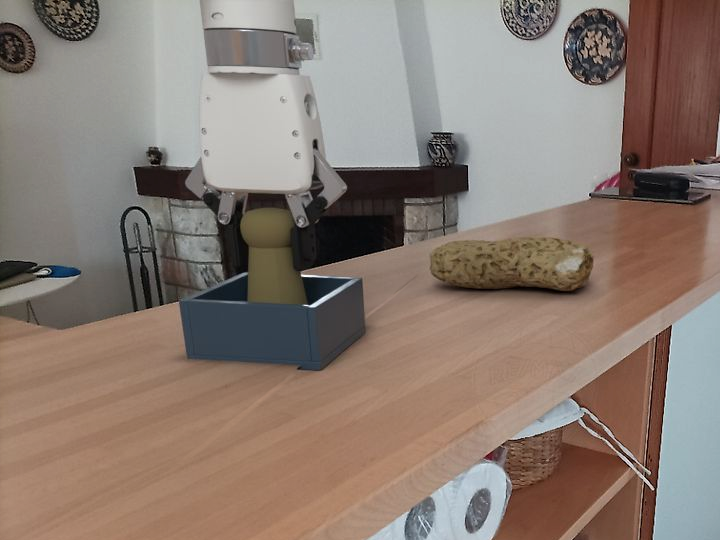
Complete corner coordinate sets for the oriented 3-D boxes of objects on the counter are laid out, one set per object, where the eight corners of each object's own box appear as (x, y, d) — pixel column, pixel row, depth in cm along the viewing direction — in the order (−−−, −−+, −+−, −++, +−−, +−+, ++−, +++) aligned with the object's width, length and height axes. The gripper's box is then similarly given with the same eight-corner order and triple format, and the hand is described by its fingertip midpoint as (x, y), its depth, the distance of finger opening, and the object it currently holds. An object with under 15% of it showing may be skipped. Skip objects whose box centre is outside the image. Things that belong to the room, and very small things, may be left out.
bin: (187, 362, 71) (178, 300, 69) (250, 326, 83) (244, 272, 81) (320, 370, 70) (315, 307, 68) (365, 332, 81) (362, 277, 79)
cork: (254, 317, 78) (242, 204, 74) (316, 316, 79) (307, 205, 75) (239, 333, 72) (225, 212, 68) (306, 333, 73) (296, 213, 69)
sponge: (590, 291, 107) (456, 251, 110) (602, 238, 102) (462, 198, 106) (562, 332, 96) (415, 286, 100) (574, 275, 92) (420, 229, 95)
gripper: (363, 60, 70) (374, 263, 76) (182, 57, 71) (208, 256, 78) (333, 55, 63) (348, 279, 69) (133, 52, 64) (166, 270, 71)
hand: (273, 264), depth 73 cm, fingers closed on cork, 5 cm apart
